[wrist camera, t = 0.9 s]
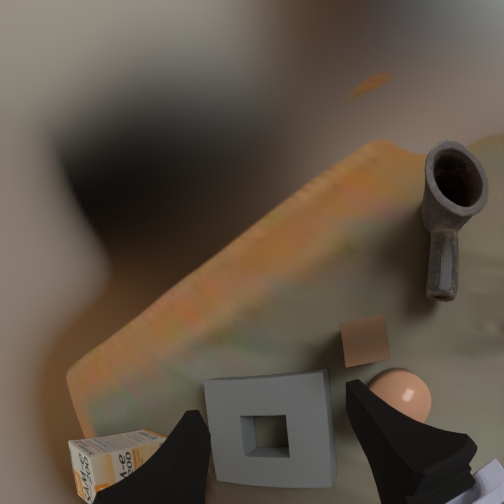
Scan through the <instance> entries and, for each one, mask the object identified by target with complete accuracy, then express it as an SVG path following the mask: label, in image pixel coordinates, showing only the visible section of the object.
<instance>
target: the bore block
mask: <svg viewBox="0 0 504 504" xmlns="http://www.w3.org/2000/svg"><path fill="white" fill-rule="evenodd" d="M203 382H204V391H205V400H206V409H207V417H208V425H209V432H210V434H211V447H212V453H213V460H214V466H215V472H216V478H217V481H223V482H229V483H237V484H245V485H254V486H265V487H283V488H322V487H332V484H333V482H334V479H335V476H336V456H335V440H334V426H333V414H332V402H331V392H330V383H329V374H328V368H325V369H318V370H311V371H303V372H295V373H286V374H275V375H263V376H249V377H228V378H214V379H209V380H203ZM266 415H286V422H287V432H288V442H289V447H257V445H256V436H255V428H254V419H253V416H266Z"/></svg>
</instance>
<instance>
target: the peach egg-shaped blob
mask: <svg viewBox="0 0 504 504" xmlns="http://www.w3.org/2000/svg"><path fill="white" fill-rule="evenodd" d="M368 388H369V389H370V390H371V391H372V392H373V393H375V394H376V395H377V396H378V397H380V398H381V399H382V400H383V401H385V402H386V403H387V404H389V405H390V406H392V407H393V408H395V409H396V410H398V411H400V412H401V413H403V414H405V415H406V416H408V417H410V418H412V419H414V420H417V421H419V422H421V423H424V422H425V420H426V418H427V417H428V414H429V412H430V408H431V395H430V391H429V389H428V387H427V385H426V384H425V383H424V382H423V381H422V380H421V379H420V378H418V377H417V376H416V375H415V374H413V373H412V372H411V371H409V370H407V369H404V368H390V369H387V370H384V371H382V372H381V373H379V374H378V375H376V376H375V377H374V378H373V379H372V381H371V382H370V383H369V385H368Z"/></svg>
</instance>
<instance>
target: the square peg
mask: <svg viewBox="0 0 504 504" xmlns="http://www.w3.org/2000/svg"><path fill="white" fill-rule="evenodd" d="M340 329H341V336H342V343H343V350H344V358H345V366H346V367H352V366H357V365H362V364H367V363H372V362H377V361H382V360H386V359H390V352H389V344H388V337H387V331H386V325H385V319H384V314H380V315H376V316H372V317H367V318H363V319H358V320H354V321H349V322H344V323H340Z"/></svg>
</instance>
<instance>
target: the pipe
mask: <svg viewBox="0 0 504 504" xmlns="http://www.w3.org/2000/svg"><path fill="white" fill-rule="evenodd" d="M488 196H489V185H488V179H487V175H486V173H485V171H484V168H483V167H482V165H481V163H480V162H479V160H478V159H477V158H476V157H475V155H474V154H473V153H472V152H471V151H470V150H469V149H468V148H467V147H466V146H464V145H463V144H461V143H460V142H458V141H453V140H445V141H442V142H439V143H437V144H436V145H434V146H433V148H432V149H431V150H430V152H429V154H428V156H427V158H426V163H425V191H424V196H423V202H422V210H421V214H422V221H423V224H424V226H425V228H426V229H427V230H428V232H429V233H430V235H431V241H430V252H429V262H428V275H427V284H426V298H428V299H430V300H435V301H445V302H448V301H452V300H454V298H455V297H456V294H457V288H458V270H459V254H458V236H457V233H458V231H459V230H460V229H461V228H462V226H463V225H464V224H465V223H466V222H467V221H468V220H469V219H470V218H471V217H472V216H474V215H475V214H477V213H479V212H480V211H481V210H482V209H483V208H484V207H485V205H486V203H487V201H488Z"/></svg>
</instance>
